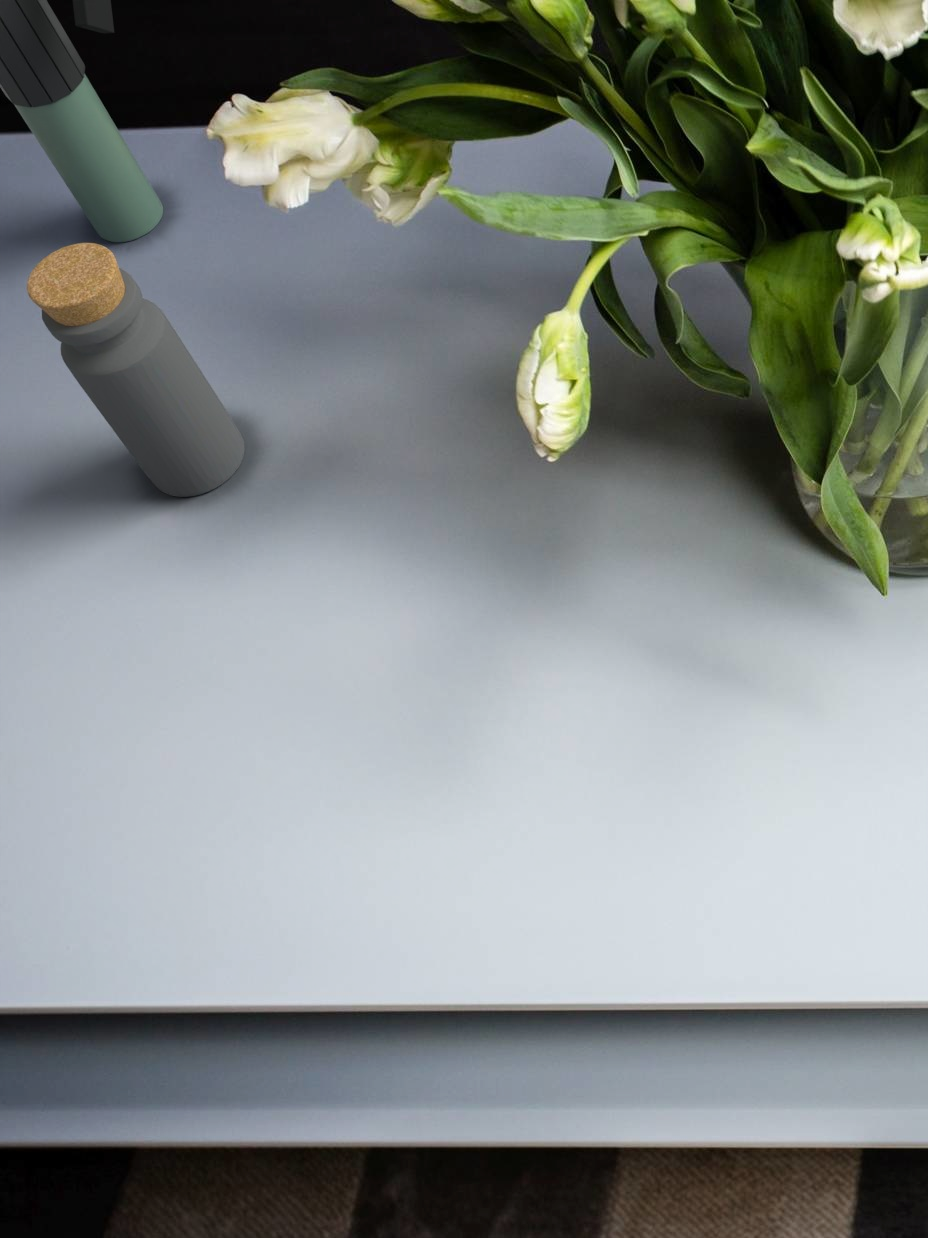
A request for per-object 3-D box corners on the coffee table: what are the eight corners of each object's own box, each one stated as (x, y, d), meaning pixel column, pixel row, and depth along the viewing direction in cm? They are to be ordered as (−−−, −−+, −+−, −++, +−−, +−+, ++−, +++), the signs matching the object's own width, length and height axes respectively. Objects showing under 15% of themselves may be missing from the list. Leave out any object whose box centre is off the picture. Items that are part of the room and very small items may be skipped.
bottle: (261, 465, 96) (141, 277, 84) (170, 514, 95) (35, 331, 82) (224, 407, 99) (103, 217, 86) (135, 454, 98) (0, 269, 85)
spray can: (83, 237, 109) (-29, 67, 98) (120, 190, 111) (15, 19, 100) (140, 247, 108) (33, 77, 96) (176, 200, 110) (76, 28, 99)
